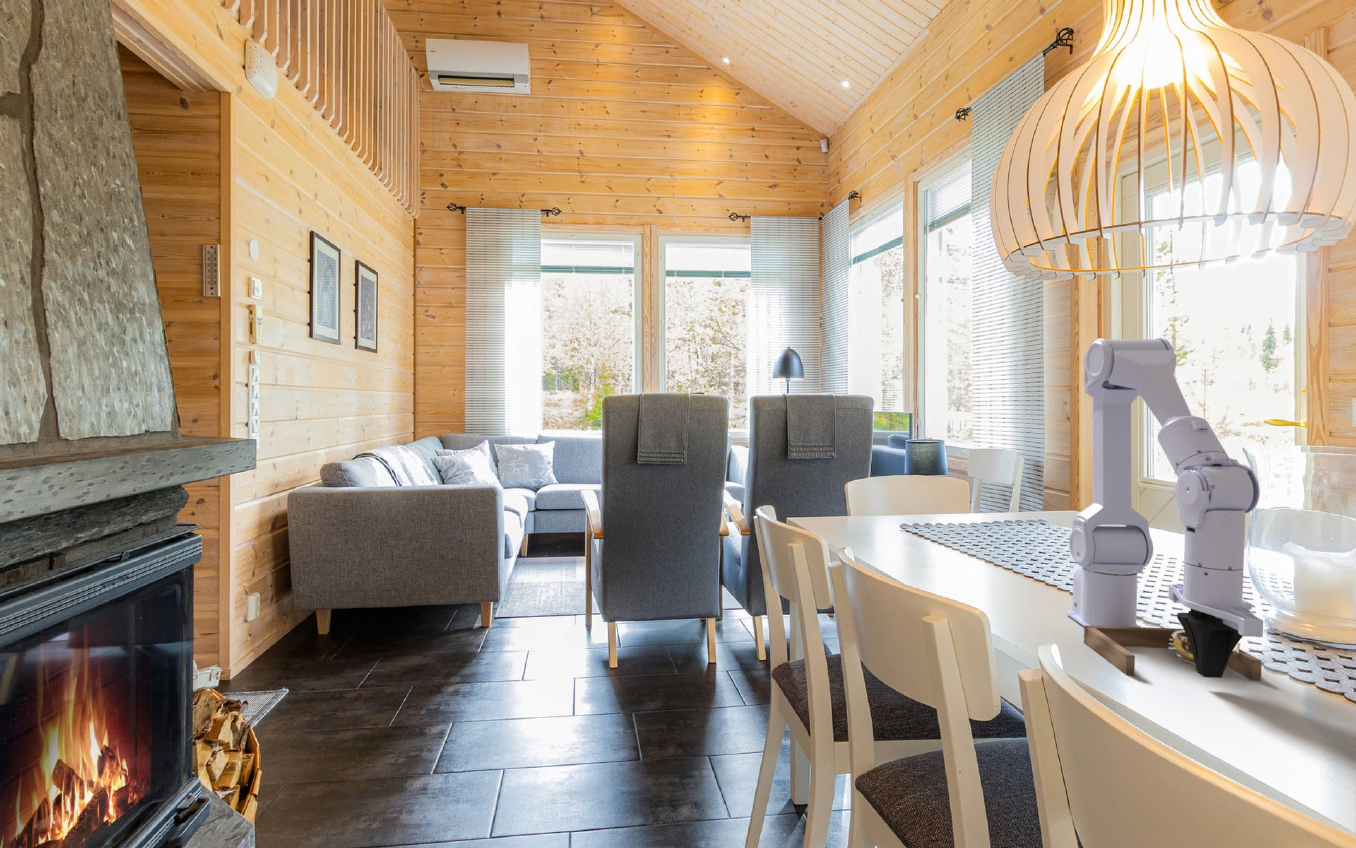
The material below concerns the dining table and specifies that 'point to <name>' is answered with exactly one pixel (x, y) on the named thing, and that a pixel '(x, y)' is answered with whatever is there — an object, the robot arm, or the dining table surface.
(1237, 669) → the brown u-shaped frame
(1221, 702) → the dining table surface
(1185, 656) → the ring
